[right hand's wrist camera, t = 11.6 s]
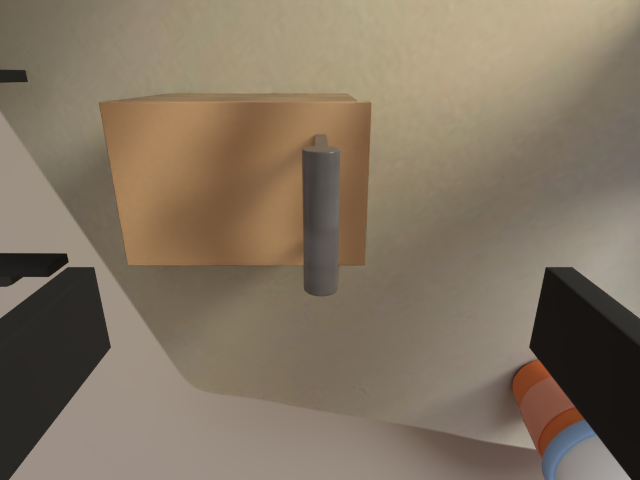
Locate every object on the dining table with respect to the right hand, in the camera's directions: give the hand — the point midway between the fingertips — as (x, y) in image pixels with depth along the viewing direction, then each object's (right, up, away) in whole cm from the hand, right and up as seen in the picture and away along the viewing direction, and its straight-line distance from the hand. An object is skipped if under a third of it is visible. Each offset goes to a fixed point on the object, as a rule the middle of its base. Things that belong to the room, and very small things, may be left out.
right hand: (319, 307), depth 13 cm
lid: (-5, +5, +14) cm, 16 cm away
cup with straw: (+23, -13, +32) cm, 42 cm away
